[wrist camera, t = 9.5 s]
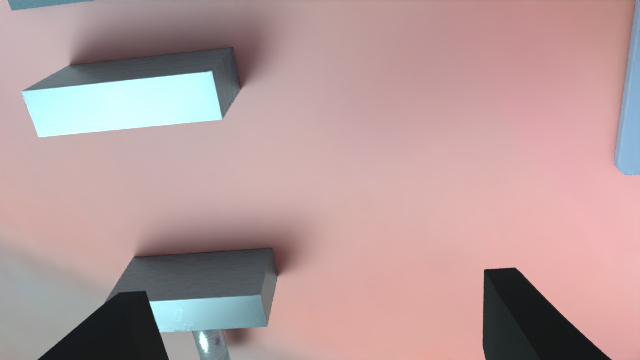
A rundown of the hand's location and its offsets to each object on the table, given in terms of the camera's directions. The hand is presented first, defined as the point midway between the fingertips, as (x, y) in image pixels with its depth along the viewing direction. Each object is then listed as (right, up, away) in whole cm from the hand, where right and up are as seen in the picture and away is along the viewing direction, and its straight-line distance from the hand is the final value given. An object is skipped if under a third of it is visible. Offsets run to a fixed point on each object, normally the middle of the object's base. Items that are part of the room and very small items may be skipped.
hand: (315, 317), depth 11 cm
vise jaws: (-5, +1, +10) cm, 12 cm away
